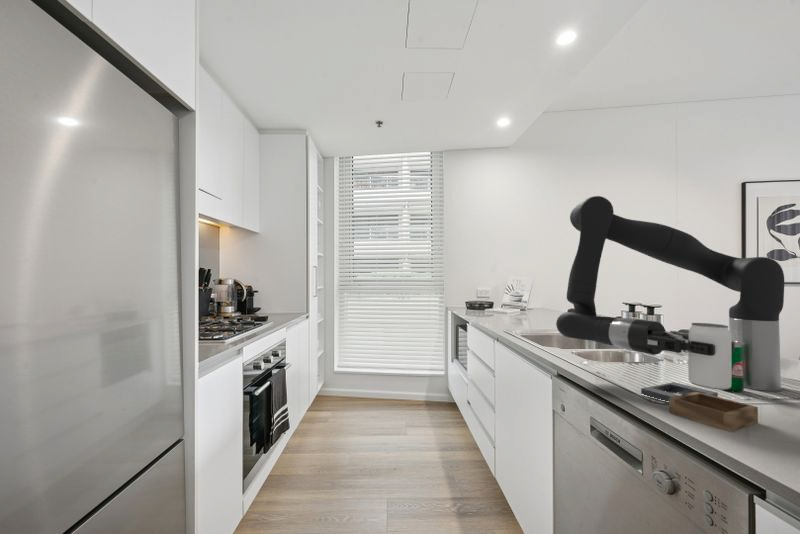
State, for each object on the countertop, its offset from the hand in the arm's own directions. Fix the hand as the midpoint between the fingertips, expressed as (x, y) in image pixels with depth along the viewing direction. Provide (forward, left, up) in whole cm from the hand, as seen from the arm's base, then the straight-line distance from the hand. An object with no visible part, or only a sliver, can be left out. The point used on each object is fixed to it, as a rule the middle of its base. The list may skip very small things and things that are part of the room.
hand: (723, 349), depth 69 cm
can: (0, -2, -8) cm, 8 cm away
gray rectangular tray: (-8, -12, -14) cm, 20 cm away
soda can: (-26, -10, -14) cm, 31 cm away
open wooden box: (0, -2, -14) cm, 14 cm away
